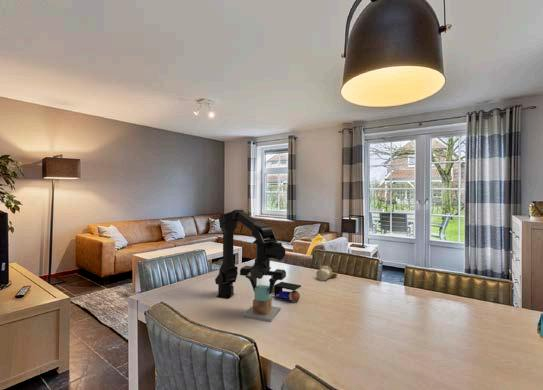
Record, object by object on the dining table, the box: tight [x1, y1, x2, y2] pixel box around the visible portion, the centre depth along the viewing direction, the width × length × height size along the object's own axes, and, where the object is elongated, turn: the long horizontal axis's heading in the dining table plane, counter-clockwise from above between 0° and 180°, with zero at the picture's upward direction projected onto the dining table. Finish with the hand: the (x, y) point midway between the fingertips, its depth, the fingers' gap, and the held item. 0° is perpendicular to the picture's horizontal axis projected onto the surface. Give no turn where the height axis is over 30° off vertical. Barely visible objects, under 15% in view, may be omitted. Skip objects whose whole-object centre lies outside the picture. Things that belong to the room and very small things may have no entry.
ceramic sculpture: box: [315, 264, 339, 282], centre depth 168 cm, size 11×9×15 cm
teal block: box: [253, 284, 271, 302], centre depth 119 cm, size 5×5×5 cm
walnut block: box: [252, 296, 273, 315], centre depth 119 cm, size 6×6×5 cm
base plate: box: [242, 305, 282, 323], centre depth 119 cm, size 12×12×1 cm
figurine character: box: [270, 281, 302, 303], centre depth 135 cm, size 7×8×15 cm
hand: (262, 293), depth 119 cm, fingers open, 6 cm apart
